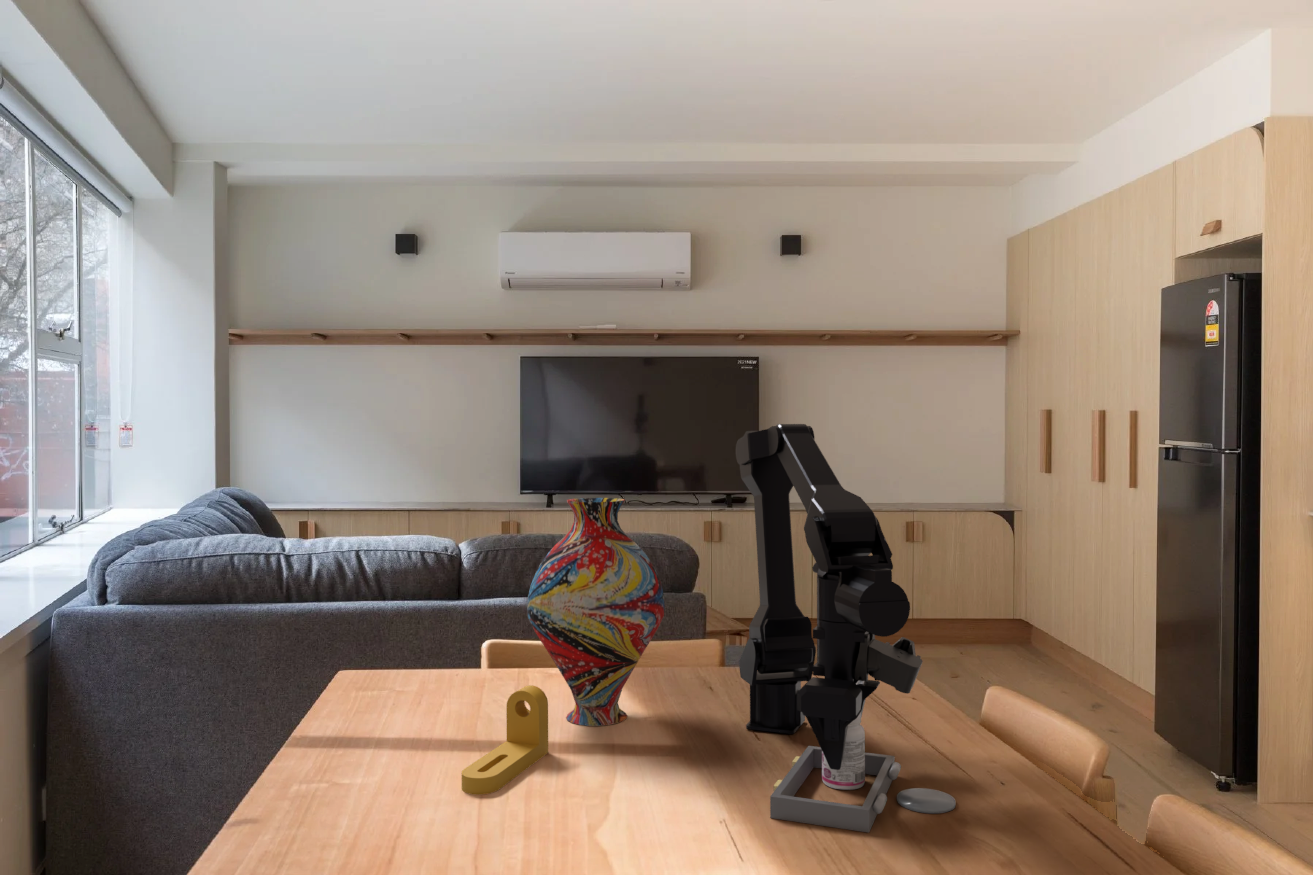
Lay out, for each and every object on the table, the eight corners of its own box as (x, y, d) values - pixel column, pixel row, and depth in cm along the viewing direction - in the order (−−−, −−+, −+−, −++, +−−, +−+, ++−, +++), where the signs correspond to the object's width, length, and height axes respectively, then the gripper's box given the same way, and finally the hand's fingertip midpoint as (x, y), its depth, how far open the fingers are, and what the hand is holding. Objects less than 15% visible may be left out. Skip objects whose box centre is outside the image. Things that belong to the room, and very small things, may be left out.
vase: (501, 729, 130) (500, 503, 129) (567, 692, 147) (566, 493, 147) (632, 745, 123) (631, 507, 122) (684, 705, 140) (683, 496, 140)
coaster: (893, 808, 102) (893, 804, 102) (901, 788, 108) (901, 785, 108) (952, 816, 100) (952, 812, 100) (957, 796, 106) (957, 792, 106)
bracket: (516, 750, 122) (515, 683, 122) (548, 753, 120) (547, 686, 120) (454, 793, 108) (453, 718, 108) (489, 797, 106) (489, 721, 106)
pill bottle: (817, 776, 112) (816, 702, 112) (857, 774, 112) (857, 701, 112) (827, 791, 107) (827, 714, 107) (870, 790, 108) (870, 713, 108)
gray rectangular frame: (764, 816, 100) (764, 795, 100) (803, 763, 116) (803, 744, 116) (879, 833, 96) (879, 811, 96) (903, 776, 112) (903, 756, 112)
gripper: (904, 640, 98) (904, 796, 98) (926, 608, 115) (926, 740, 115) (795, 632, 102) (796, 781, 102) (832, 602, 119) (832, 729, 120)
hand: (843, 756), depth 110 cm, fingers open, 8 cm apart
